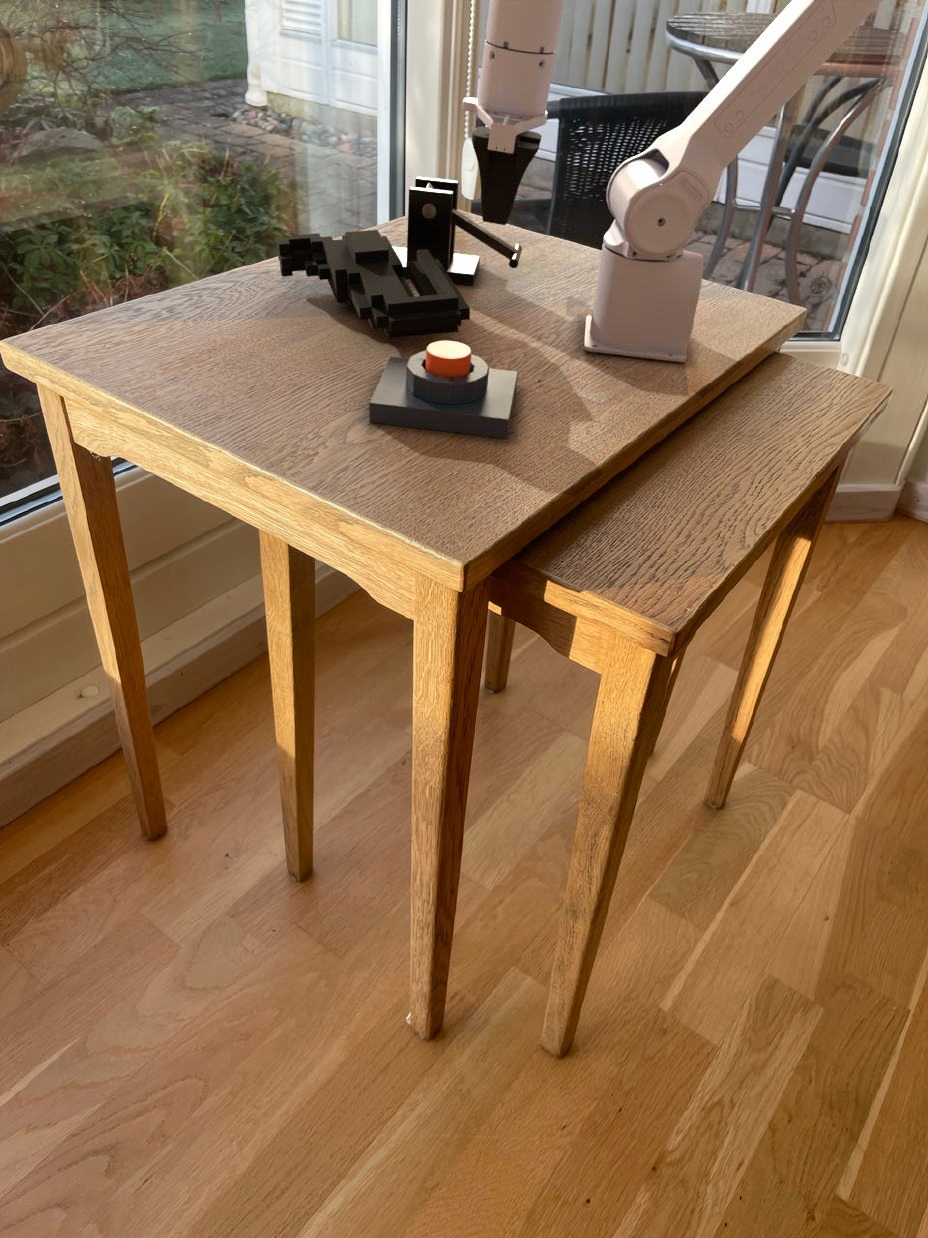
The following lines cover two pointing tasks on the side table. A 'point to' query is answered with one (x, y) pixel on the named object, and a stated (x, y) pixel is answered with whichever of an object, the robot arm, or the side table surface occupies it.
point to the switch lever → (485, 236)
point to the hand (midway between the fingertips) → (494, 221)
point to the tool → (379, 282)
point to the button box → (445, 398)
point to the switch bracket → (436, 229)
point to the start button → (448, 359)
